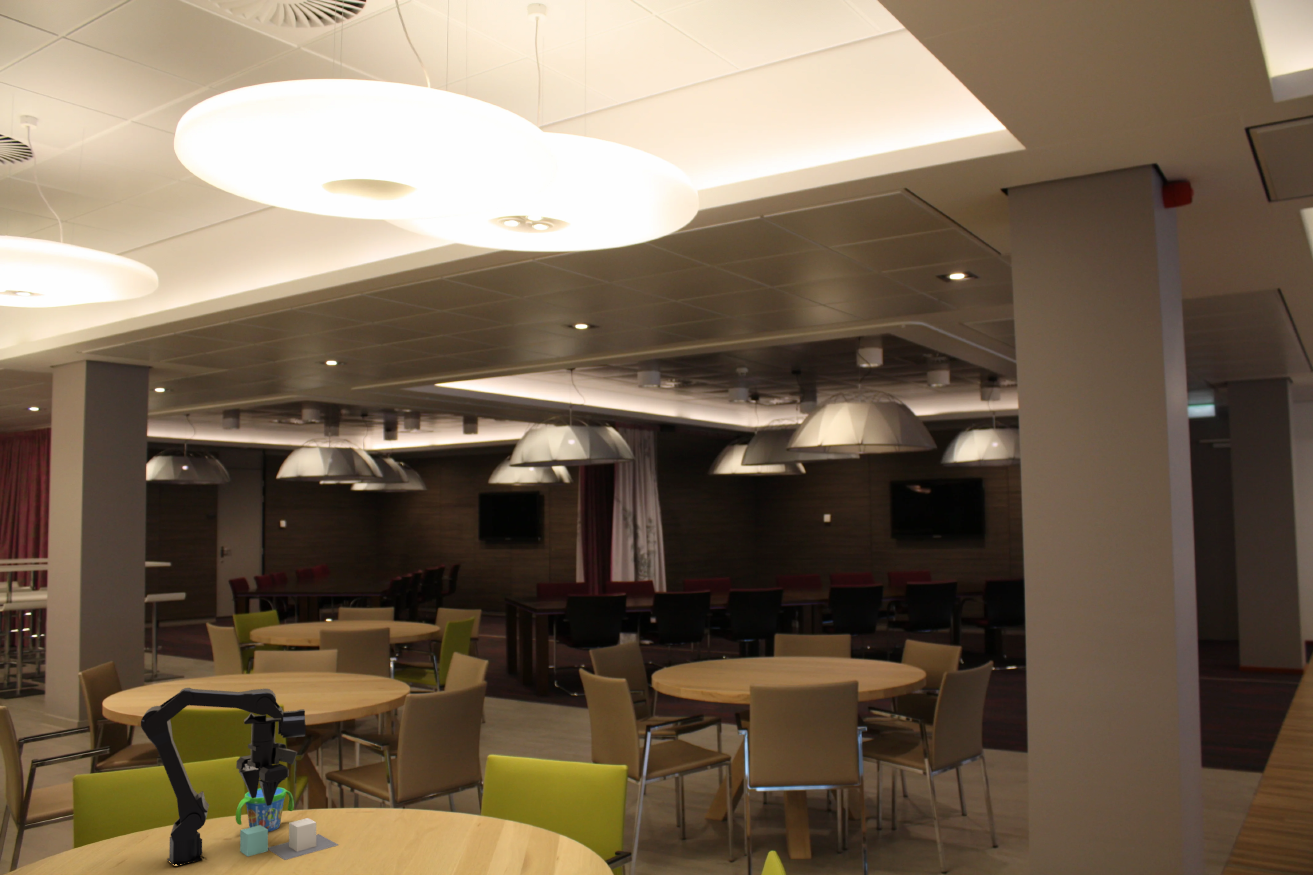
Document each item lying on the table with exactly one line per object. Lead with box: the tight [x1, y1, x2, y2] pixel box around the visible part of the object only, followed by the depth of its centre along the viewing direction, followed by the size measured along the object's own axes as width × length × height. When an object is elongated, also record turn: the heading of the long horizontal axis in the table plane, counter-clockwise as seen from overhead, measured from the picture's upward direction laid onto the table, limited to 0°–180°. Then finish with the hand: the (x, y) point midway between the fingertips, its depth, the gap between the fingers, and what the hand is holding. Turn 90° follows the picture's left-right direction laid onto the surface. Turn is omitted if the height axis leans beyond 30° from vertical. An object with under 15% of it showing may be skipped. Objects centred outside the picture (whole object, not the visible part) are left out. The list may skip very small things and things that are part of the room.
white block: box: [288, 817, 317, 851], centre depth 241 cm, size 5×5×6 cm
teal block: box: [239, 825, 269, 857], centre depth 239 cm, size 5×5×6 cm
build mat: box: [268, 833, 339, 861], centre depth 241 cm, size 14×12×1 cm
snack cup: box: [235, 786, 295, 833], centre depth 257 cm, size 16×10×10 cm
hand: (261, 801), depth 242 cm, fingers open, 9 cm apart
